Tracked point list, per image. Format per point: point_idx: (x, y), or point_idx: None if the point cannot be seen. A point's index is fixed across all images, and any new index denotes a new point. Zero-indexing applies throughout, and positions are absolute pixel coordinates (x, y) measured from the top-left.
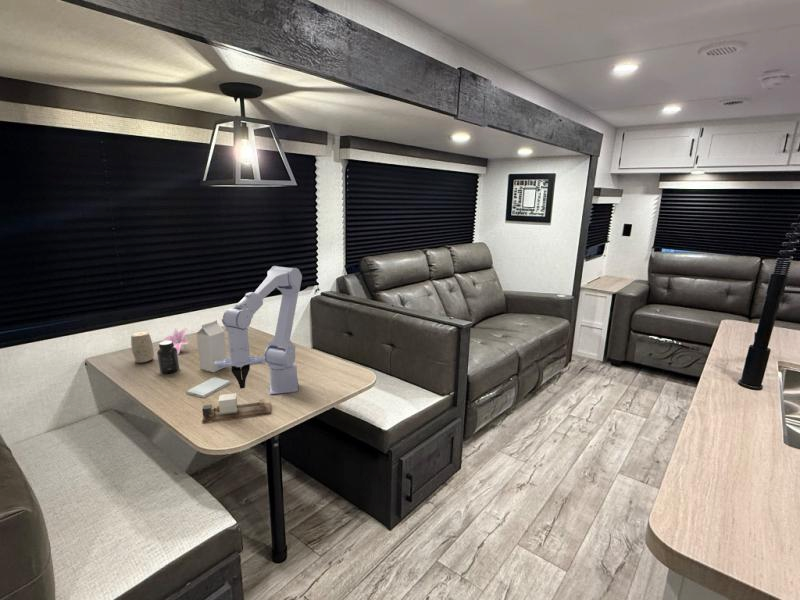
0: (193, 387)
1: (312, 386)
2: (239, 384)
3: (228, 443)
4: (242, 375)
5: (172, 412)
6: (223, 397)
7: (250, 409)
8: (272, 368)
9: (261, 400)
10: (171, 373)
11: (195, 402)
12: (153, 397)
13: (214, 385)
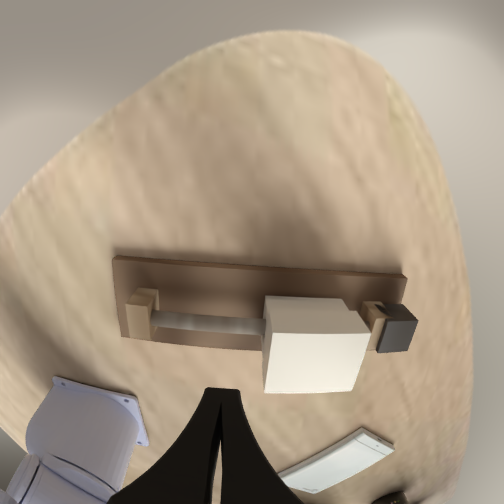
0: (373, 463)
1: (26, 381)
2: (241, 412)
3: (309, 57)
4: (198, 476)
5: (452, 363)
6: (338, 365)
7: (202, 309)
8: (96, 480)
9: (140, 330)
10: (388, 495)
11: (388, 408)
12: (452, 427)
13: (321, 470)
